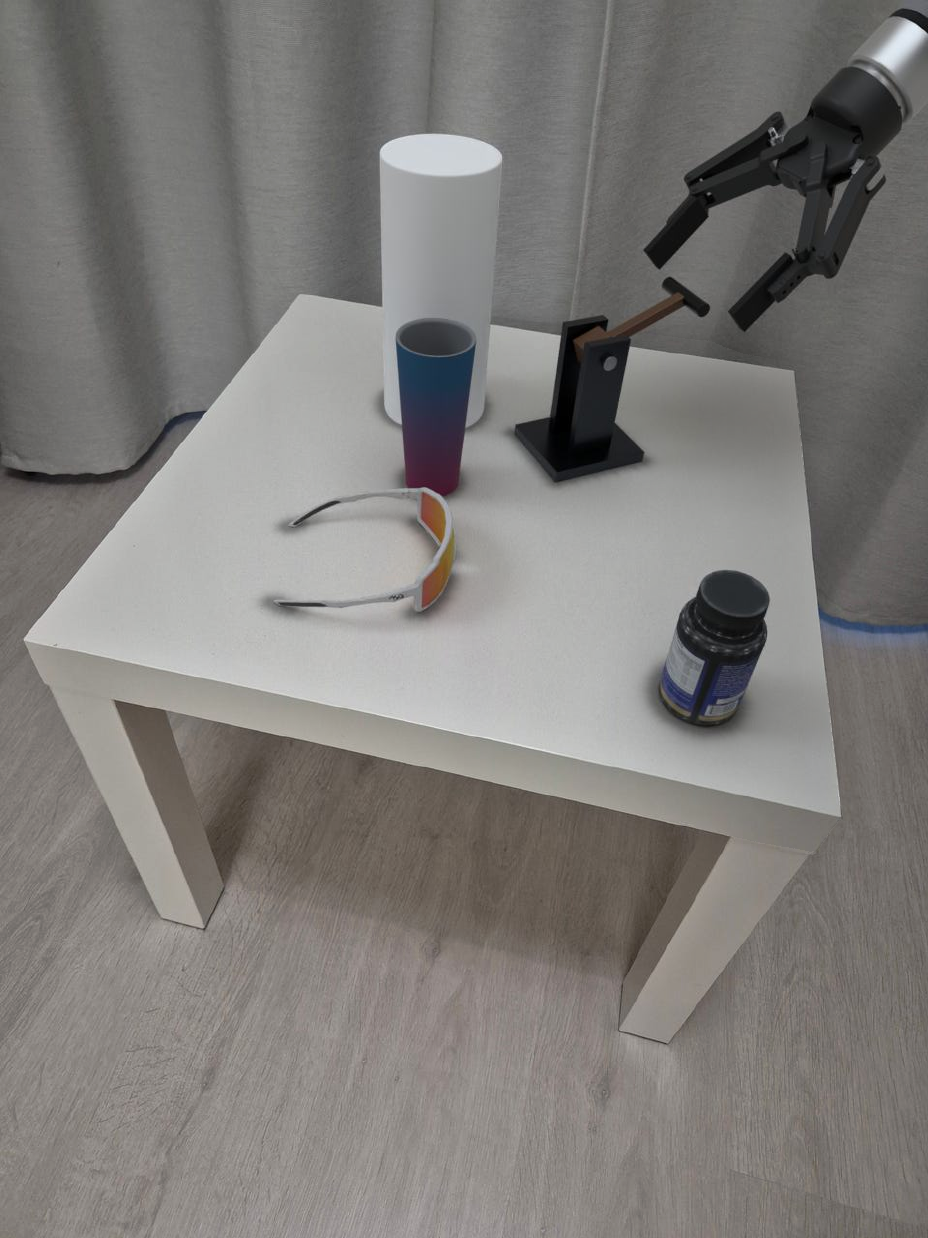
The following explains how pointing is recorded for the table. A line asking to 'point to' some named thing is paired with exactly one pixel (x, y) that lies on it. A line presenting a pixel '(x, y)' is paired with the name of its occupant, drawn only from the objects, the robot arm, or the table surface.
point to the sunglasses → (433, 579)
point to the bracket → (583, 408)
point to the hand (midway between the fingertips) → (691, 289)
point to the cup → (434, 399)
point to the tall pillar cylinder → (438, 245)
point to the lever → (649, 315)
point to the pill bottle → (715, 648)
